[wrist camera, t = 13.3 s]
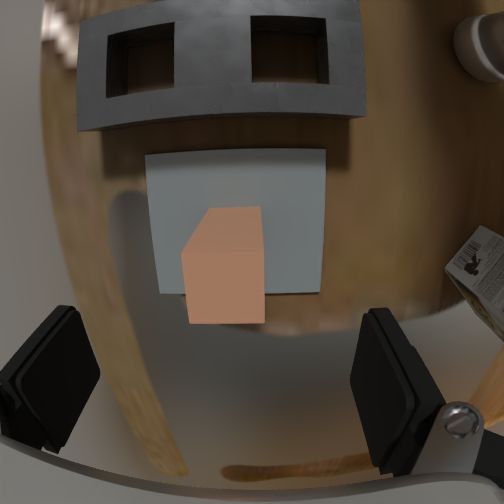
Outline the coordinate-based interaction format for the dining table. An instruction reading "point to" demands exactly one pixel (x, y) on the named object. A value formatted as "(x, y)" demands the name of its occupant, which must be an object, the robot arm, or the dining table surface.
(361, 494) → the robot arm
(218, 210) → the plug
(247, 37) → the socket plate
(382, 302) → the dining table surface
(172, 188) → the mat
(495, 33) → the plastic bottle
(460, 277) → the coffee box
